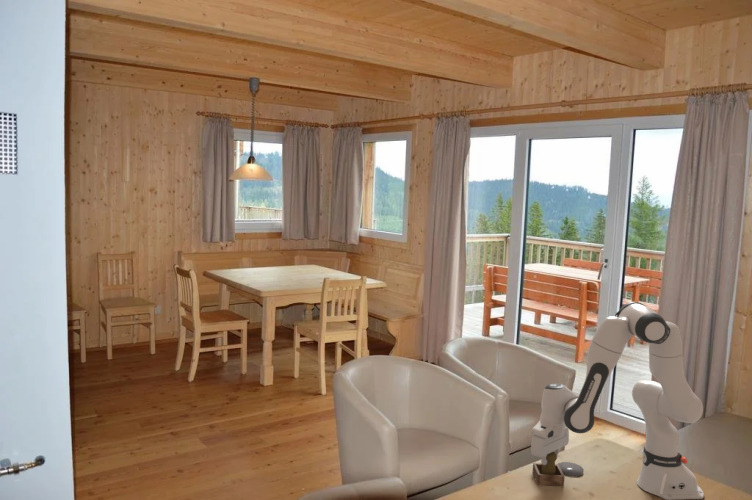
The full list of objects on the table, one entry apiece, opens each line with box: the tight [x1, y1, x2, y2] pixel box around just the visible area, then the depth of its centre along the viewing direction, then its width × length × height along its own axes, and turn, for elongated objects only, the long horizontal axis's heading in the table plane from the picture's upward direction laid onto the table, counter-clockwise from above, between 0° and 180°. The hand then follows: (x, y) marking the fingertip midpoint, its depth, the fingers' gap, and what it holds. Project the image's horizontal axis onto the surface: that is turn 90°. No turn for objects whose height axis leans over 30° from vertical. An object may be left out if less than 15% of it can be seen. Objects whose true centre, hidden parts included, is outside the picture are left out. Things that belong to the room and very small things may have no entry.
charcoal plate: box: [557, 461, 585, 477], centre depth 242 cm, size 10×10×1 cm
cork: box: [541, 452, 558, 475], centre depth 233 cm, size 6×6×11 cm
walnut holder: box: [532, 462, 566, 488], centre depth 234 cm, size 10×10×4 cm
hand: (549, 461), depth 233 cm, fingers closed on cork, 5 cm apart
